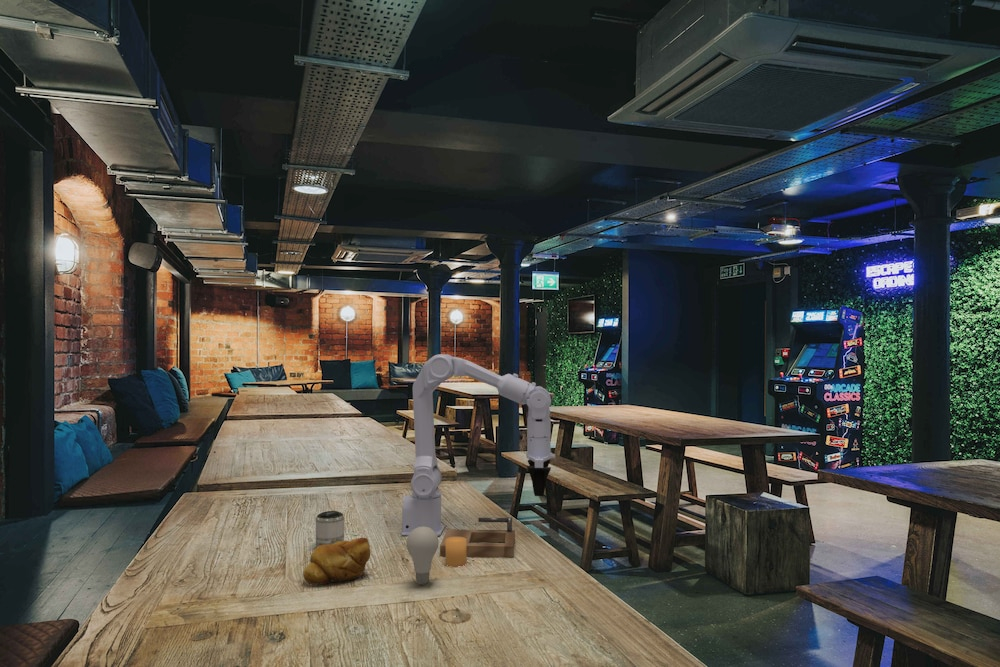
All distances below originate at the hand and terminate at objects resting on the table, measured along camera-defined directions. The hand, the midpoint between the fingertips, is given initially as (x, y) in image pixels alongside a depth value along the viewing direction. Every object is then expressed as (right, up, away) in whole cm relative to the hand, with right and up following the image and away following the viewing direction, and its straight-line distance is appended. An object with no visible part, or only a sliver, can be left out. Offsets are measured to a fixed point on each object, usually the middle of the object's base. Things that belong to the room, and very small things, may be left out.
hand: (539, 492), depth 151 cm
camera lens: (-48, -10, -11) cm, 51 cm away
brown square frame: (-14, -10, -11) cm, 21 cm away
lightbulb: (-24, -10, -33) cm, 42 cm away
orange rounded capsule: (-19, -10, -21) cm, 30 cm away
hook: (-11, -10, -6) cm, 16 cm away
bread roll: (-42, -10, -29) cm, 52 cm away
